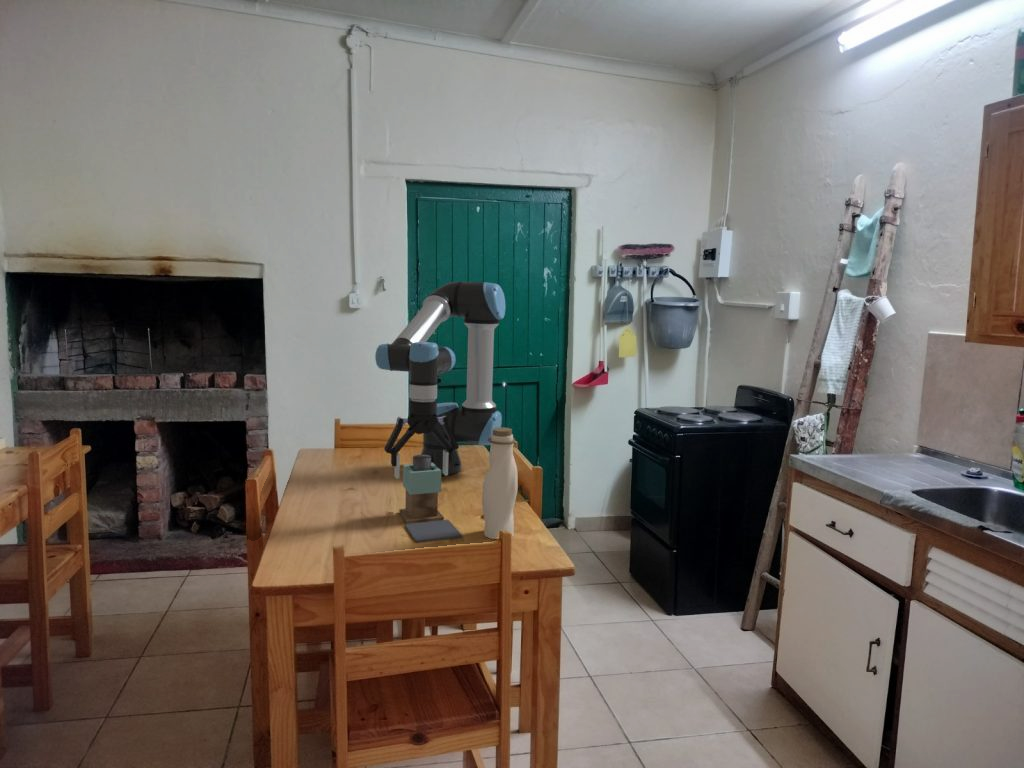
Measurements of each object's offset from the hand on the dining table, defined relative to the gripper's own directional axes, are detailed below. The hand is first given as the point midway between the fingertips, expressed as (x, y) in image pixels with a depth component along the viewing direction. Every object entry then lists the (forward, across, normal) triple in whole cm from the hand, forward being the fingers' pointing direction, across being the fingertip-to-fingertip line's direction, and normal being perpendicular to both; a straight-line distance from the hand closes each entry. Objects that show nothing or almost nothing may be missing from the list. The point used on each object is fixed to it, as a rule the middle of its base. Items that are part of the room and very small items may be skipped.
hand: (421, 476), depth 186 cm
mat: (+12, 0, +12) cm, 17 cm away
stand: (+12, 0, 0) cm, 12 cm away
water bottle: (+12, -16, +18) cm, 27 cm away
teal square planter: (+4, 0, 0) cm, 4 cm away
